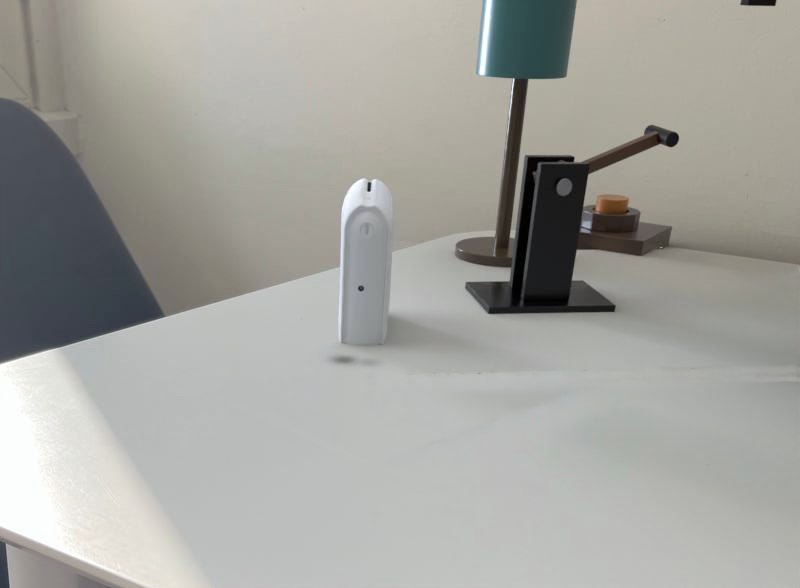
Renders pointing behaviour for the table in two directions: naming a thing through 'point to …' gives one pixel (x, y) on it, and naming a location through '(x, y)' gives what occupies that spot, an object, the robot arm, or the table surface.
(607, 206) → the lamp button
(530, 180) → the switch bracket
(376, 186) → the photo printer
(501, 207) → the lamp
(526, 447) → the table surface
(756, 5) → the robot arm
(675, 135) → the switch lever
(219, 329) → the table surface
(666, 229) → the block
